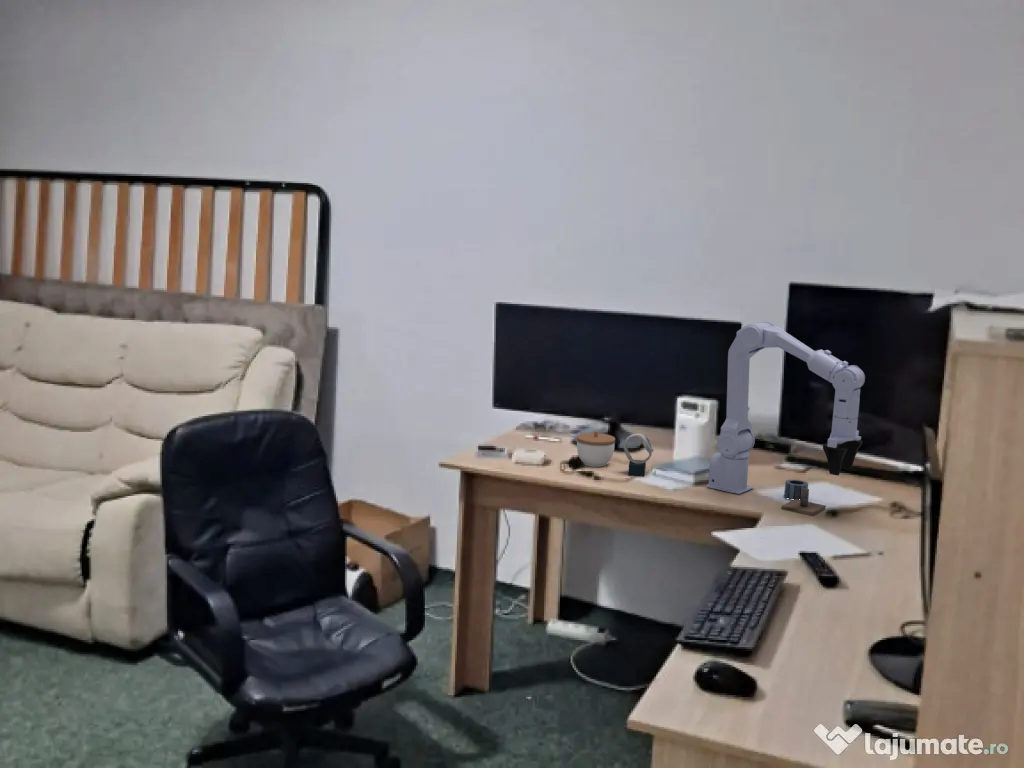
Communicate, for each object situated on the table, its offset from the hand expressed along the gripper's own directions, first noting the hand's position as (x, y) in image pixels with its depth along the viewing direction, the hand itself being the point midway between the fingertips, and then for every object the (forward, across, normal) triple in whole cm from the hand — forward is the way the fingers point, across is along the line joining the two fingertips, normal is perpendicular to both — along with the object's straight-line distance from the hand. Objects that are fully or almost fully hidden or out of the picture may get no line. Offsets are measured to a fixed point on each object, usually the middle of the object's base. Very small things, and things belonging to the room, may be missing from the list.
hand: (840, 471), depth 248 cm
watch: (+10, -5, +54) cm, 55 cm away
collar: (+10, +4, +12) cm, 17 cm away
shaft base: (+10, -4, +7) cm, 13 cm away
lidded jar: (+10, -5, +68) cm, 69 cm away
